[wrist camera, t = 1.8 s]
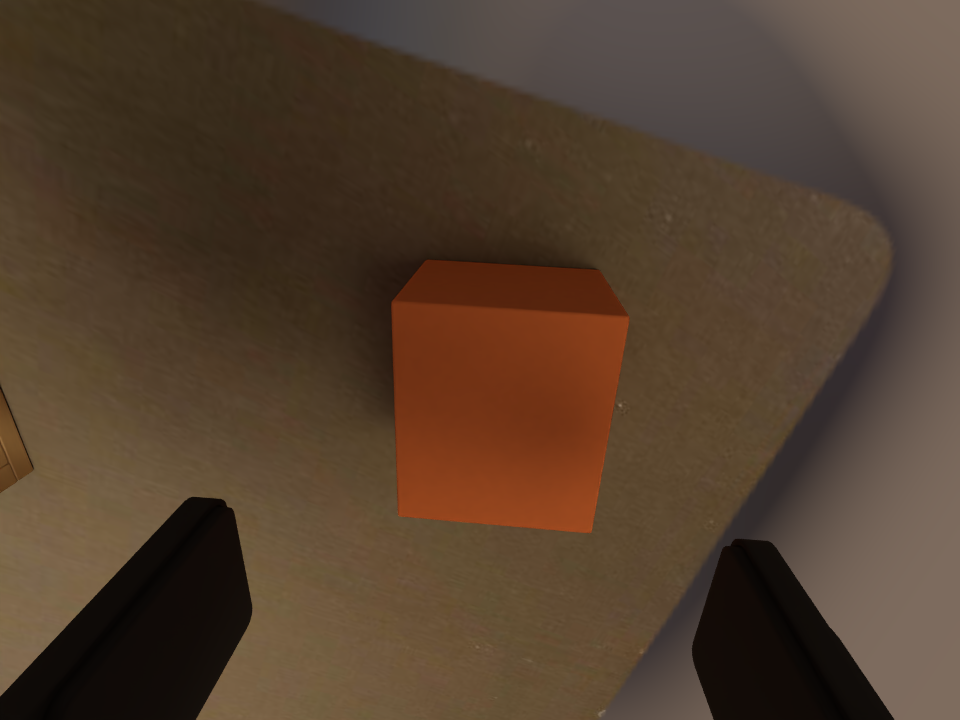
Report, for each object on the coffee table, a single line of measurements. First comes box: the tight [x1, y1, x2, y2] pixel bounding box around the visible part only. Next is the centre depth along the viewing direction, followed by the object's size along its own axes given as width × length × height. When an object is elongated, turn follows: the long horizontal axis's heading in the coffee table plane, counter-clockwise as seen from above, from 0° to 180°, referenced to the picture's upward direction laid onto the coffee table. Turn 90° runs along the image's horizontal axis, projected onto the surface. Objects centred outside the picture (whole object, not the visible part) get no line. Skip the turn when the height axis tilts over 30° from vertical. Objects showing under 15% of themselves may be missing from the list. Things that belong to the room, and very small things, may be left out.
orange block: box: [391, 260, 629, 533], centre depth 16 cm, size 7×6×5 cm
